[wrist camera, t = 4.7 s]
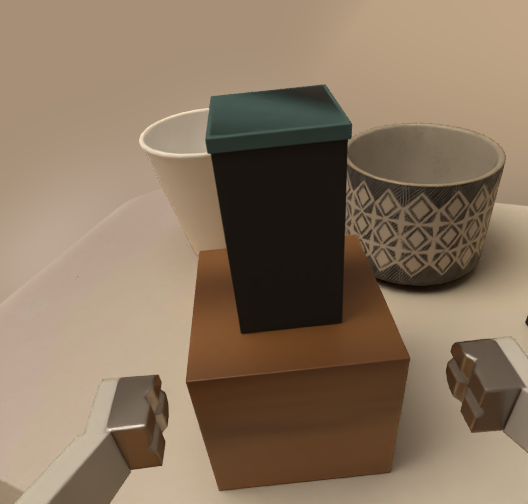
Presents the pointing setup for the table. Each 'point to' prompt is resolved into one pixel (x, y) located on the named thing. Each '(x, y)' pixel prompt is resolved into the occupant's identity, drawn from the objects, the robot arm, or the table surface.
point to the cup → (187, 175)
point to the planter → (421, 199)
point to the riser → (296, 384)
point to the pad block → (282, 203)
